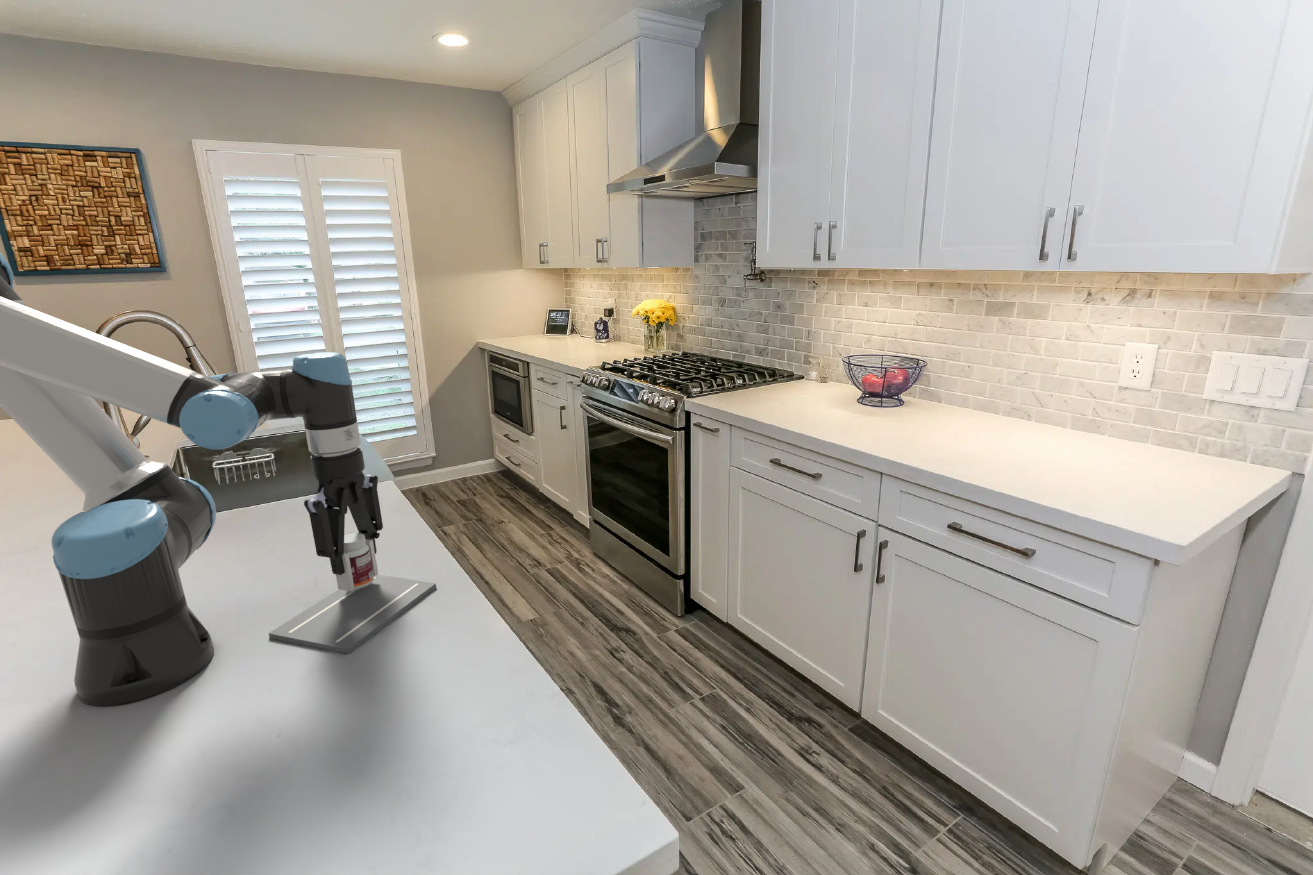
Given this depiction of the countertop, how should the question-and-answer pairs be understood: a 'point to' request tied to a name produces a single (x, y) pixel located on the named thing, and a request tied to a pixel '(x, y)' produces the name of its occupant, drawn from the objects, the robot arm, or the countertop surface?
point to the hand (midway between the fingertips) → (358, 581)
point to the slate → (353, 614)
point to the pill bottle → (359, 559)
